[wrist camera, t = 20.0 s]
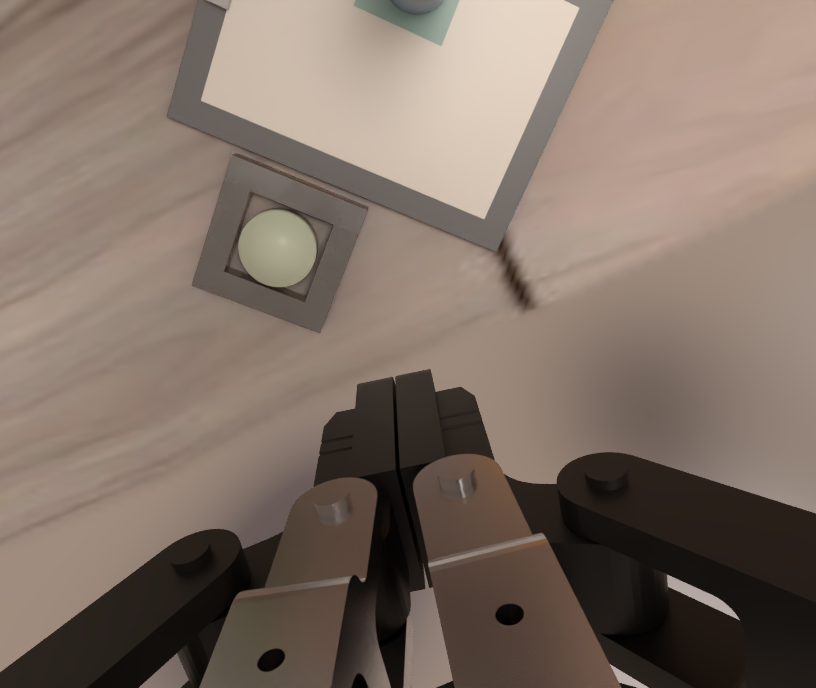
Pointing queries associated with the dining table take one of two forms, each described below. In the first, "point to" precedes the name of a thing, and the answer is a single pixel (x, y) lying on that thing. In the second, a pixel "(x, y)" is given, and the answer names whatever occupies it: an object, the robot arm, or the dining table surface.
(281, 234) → the button
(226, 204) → the button housing
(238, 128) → the clipboard
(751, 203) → the dining table surface
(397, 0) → the cylinder
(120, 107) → the dining table surface
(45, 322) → the dining table surface
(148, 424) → the dining table surface
